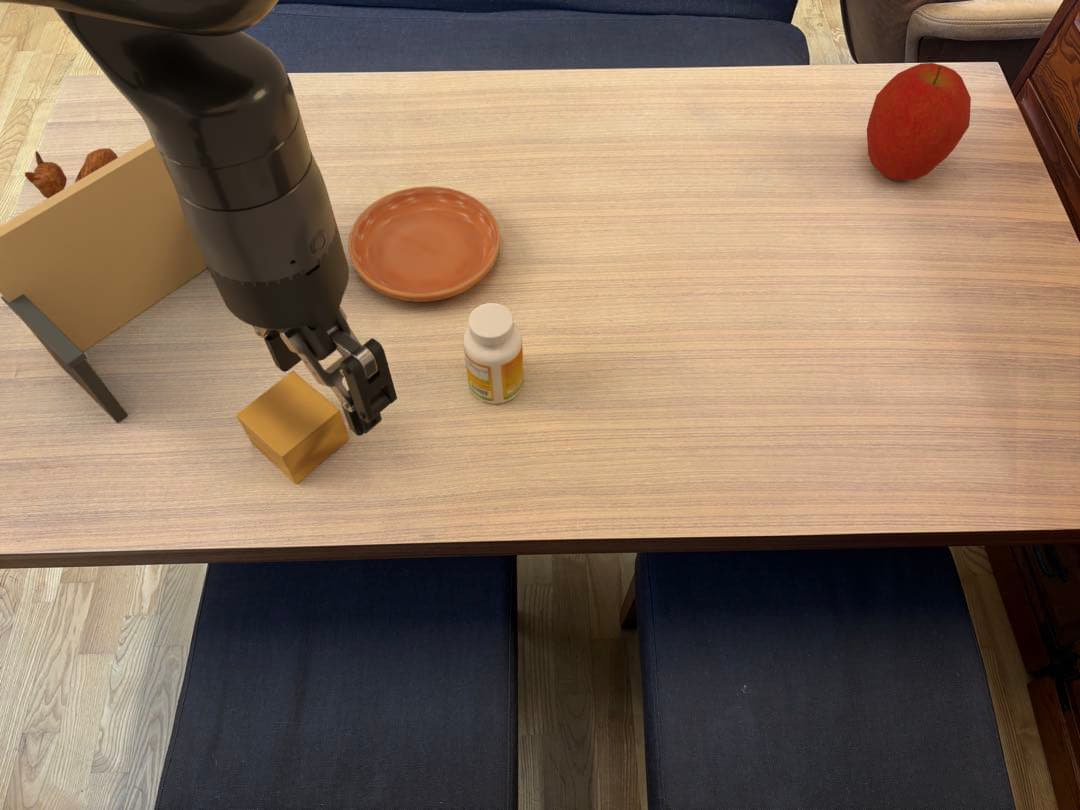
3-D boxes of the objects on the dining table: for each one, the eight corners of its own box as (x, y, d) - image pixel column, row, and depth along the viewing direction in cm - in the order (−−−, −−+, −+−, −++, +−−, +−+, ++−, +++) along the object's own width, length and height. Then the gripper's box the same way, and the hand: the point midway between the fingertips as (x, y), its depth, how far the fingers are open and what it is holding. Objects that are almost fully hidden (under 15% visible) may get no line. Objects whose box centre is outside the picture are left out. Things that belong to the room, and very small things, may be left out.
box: (296, 484, 77) (281, 457, 73) (251, 443, 79) (235, 414, 75) (350, 438, 79) (339, 409, 75) (305, 400, 82) (293, 370, 78)
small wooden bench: (291, 297, 89) (247, 179, 76) (115, 425, 80) (30, 318, 67) (227, 245, 93) (173, 125, 80) (53, 361, 84) (-40, 248, 71)
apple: (935, 209, 95) (989, 105, 84) (845, 188, 97) (886, 83, 86) (944, 151, 101) (996, 46, 89) (859, 132, 103) (899, 26, 91)
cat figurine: (115, 159, 101) (60, 56, 89) (170, 159, 101) (122, 56, 89) (68, 273, 91) (-2, 174, 79) (129, 273, 91) (68, 174, 79)
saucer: (520, 222, 95) (519, 202, 92) (471, 329, 86) (468, 310, 84) (388, 192, 97) (384, 172, 95) (328, 293, 89) (322, 274, 87)
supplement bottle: (520, 357, 84) (518, 293, 76) (526, 402, 82) (524, 340, 73) (466, 362, 84) (458, 299, 76) (470, 408, 81) (462, 346, 73)
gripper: (135, 203, 48) (225, 371, 62) (295, 335, 43) (355, 487, 57) (242, 138, 51) (305, 312, 65) (404, 253, 46) (436, 416, 60)
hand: (328, 393), depth 61 cm, fingers open, 7 cm apart
